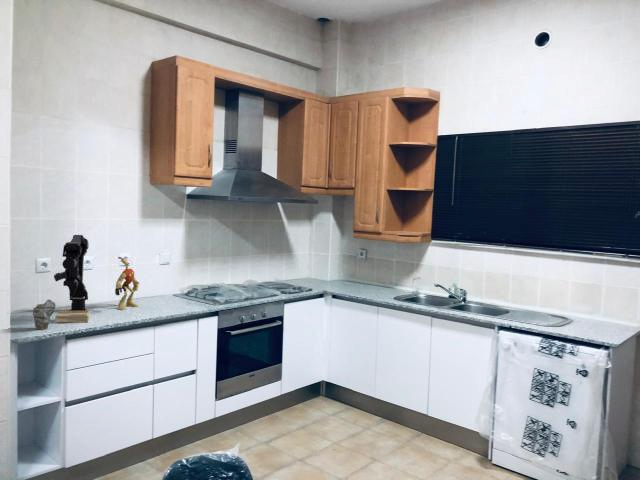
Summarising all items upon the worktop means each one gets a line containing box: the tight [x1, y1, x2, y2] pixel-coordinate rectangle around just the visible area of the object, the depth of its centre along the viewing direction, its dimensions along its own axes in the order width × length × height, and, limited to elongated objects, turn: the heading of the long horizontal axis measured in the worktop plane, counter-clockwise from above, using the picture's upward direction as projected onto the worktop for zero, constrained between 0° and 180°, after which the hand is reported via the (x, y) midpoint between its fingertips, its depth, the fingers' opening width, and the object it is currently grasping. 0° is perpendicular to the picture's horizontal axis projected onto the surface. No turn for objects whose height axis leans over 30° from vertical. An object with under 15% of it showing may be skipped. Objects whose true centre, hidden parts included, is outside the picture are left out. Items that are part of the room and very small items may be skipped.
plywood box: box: [54, 311, 91, 324], centre depth 276 cm, size 10×15×4 cm, turn 108°
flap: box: [57, 310, 89, 314], centre depth 278 cm, size 4×14×1 cm, turn 108°
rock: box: [32, 299, 57, 330], centre depth 257 cm, size 13×6×15 cm, turn 52°
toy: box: [114, 256, 140, 311], centre depth 310 cm, size 23×9×30 cm, turn 168°
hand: (72, 296), depth 279 cm, fingers closed
